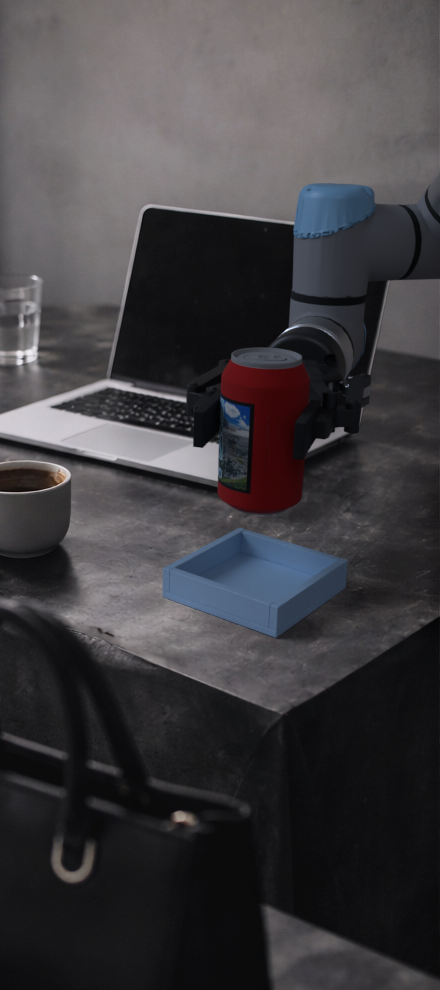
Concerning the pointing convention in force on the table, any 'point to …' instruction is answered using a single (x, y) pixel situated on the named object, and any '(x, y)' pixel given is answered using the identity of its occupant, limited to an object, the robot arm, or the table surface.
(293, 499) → the beverage can
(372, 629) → the table surface
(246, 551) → the tray
